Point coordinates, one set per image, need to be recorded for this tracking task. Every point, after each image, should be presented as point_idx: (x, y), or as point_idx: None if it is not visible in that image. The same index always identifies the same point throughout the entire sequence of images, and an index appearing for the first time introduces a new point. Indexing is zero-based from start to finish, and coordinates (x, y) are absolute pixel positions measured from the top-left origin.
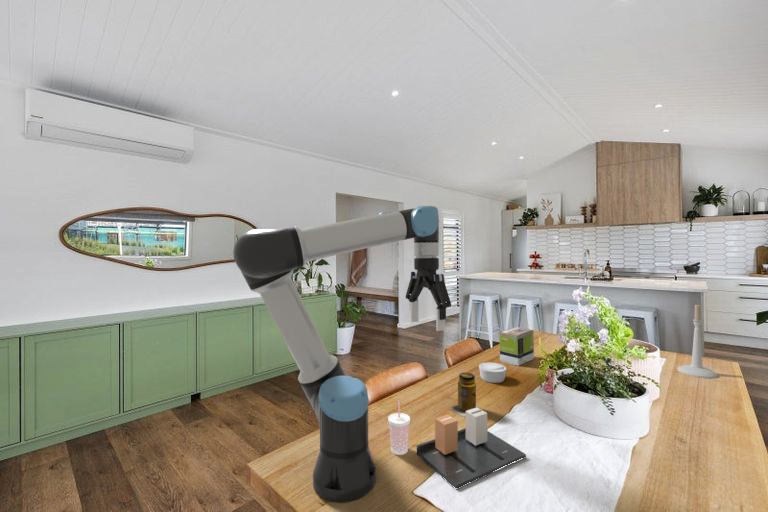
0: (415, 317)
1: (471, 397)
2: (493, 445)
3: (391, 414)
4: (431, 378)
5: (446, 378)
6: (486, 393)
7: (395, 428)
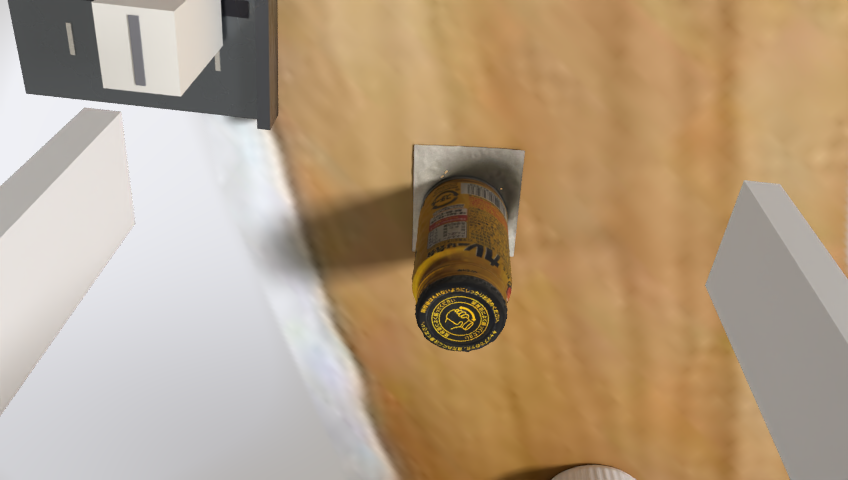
0: (739, 279)
1: (417, 241)
2: None
3: None
4: None
5: None
6: (511, 381)
7: None
